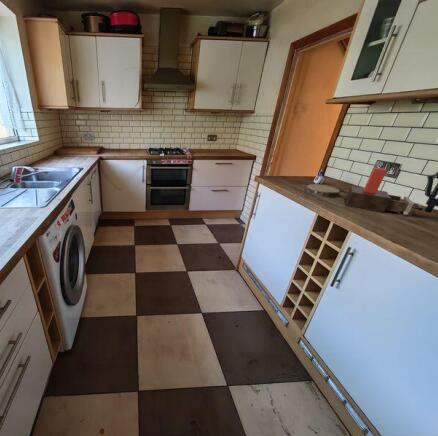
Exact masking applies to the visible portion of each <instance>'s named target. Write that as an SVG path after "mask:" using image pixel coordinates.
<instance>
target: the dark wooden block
mask: <svg viewBox="0 0 438 436" xmlns="http://www.w3.org/2000/svg"><path fill="white" fill-rule="evenodd" d="M364 188H365V187H361V186H354V185H350V188H349V190H348V192H347V195H346V197H345V203H346V206H348V207H352V208H357V209H363V210H367V211H368V210H369V211H373V212H378V213H384V212H385V211H386V210H385V209H386V207H387V205H388V203H389V201H390V200H391V198H390V196H389V195H390V194H389V193H388V191H386V190H379V189H378V190H377V192H376V194H375V193H369V192H364Z"/></svg>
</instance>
